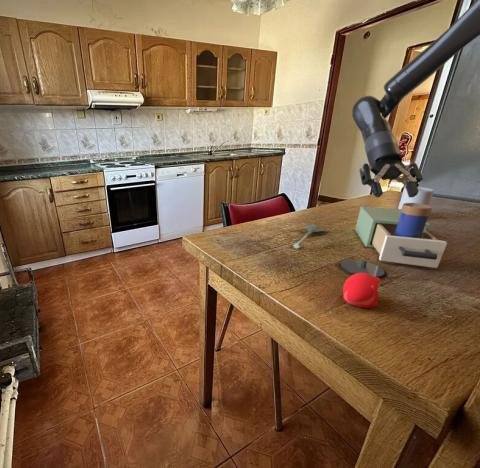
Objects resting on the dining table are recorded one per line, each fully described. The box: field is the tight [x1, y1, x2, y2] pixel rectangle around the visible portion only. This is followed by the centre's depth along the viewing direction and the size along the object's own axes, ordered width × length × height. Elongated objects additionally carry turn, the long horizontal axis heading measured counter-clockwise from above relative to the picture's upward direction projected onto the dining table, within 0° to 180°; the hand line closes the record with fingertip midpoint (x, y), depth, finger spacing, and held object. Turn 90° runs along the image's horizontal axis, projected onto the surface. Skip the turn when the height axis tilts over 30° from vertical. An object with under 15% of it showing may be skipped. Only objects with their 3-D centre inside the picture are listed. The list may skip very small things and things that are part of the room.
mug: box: [397, 186, 435, 209], centre depth 101 cm, size 12×8×11 cm
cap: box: [342, 273, 382, 308], centre depth 52 cm, size 8×6×6 cm
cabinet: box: [354, 206, 431, 249], centre depth 80 cm, size 16×13×9 cm
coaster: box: [340, 259, 385, 279], centre depth 65 cm, size 9×9×1 cm
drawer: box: [371, 223, 448, 269], centre depth 68 cm, size 19×11×7 cm, turn 156°
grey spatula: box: [293, 224, 326, 249], centre depth 84 cm, size 22×3×7 cm
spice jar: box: [394, 203, 433, 239], centre depth 66 cm, size 5×5×13 cm
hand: (396, 195), depth 71 cm, fingers open, 8 cm apart
